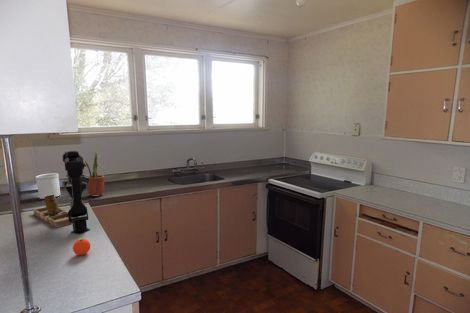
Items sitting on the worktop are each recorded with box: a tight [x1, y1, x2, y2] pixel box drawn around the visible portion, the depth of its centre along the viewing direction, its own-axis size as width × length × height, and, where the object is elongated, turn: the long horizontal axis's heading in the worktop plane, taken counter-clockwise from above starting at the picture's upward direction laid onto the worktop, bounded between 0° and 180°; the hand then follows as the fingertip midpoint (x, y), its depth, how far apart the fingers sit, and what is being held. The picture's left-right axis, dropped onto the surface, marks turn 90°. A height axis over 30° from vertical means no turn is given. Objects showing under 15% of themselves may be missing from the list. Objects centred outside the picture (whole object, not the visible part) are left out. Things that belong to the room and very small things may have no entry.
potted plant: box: [83, 150, 105, 196], centre depth 222 cm, size 17×16×35 cm
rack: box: [32, 206, 78, 229], centre depth 178 cm, size 37×12×3 cm, turn 50°
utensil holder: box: [35, 172, 61, 198], centre depth 223 cm, size 15×15×18 cm
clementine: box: [72, 237, 91, 256], centre depth 129 cm, size 8×7×7 cm
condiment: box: [44, 195, 65, 217], centre depth 177 cm, size 7×8×12 cm
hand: (75, 198), depth 171 cm, fingers open, 9 cm apart
